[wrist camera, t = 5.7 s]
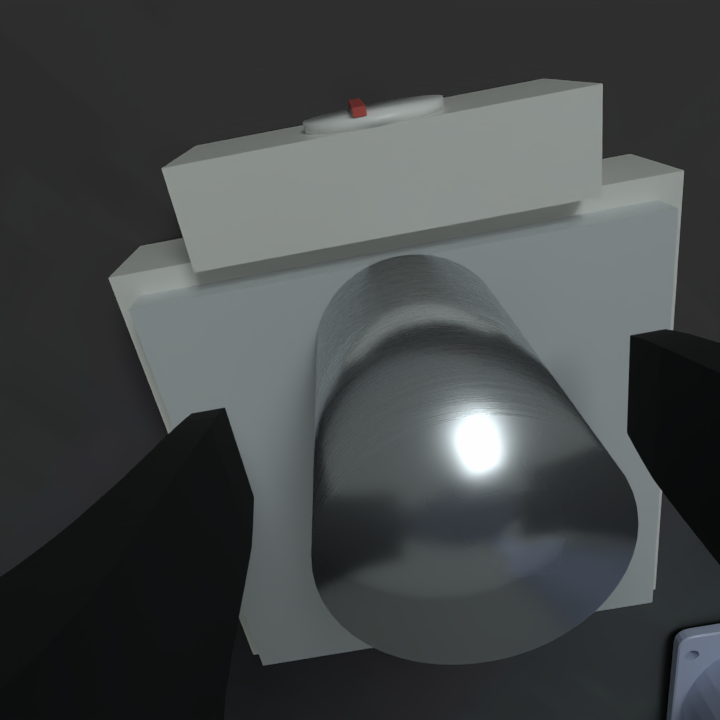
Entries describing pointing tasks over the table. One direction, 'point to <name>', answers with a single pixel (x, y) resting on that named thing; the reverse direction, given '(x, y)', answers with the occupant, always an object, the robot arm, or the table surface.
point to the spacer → (454, 474)
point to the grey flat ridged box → (386, 240)
